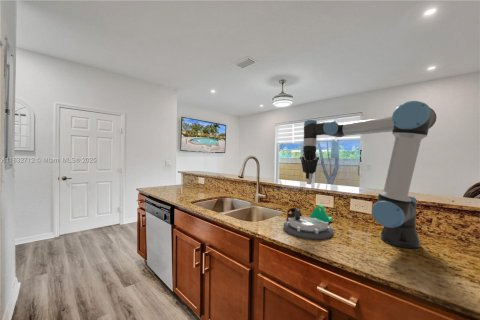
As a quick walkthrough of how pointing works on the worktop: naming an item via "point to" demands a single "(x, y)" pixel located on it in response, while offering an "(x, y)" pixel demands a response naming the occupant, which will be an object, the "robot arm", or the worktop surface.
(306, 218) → the index wheel
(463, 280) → the worktop surface
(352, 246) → the worktop surface
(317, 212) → the camera mount
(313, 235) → the base
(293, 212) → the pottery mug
